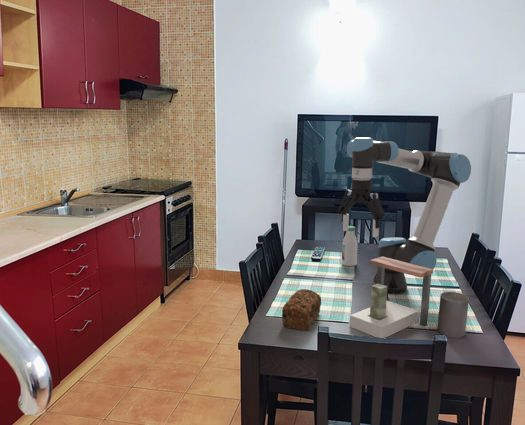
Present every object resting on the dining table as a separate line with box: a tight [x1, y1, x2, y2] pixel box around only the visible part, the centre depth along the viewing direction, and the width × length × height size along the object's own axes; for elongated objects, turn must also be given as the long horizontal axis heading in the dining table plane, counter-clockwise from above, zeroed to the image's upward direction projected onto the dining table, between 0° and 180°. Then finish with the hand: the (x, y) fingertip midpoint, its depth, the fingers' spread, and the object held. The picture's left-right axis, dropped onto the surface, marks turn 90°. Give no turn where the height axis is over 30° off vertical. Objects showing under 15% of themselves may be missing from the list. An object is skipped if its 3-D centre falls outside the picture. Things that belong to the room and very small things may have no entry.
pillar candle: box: [436, 291, 470, 339], centre depth 183 cm, size 10×10×15 cm
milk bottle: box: [341, 225, 358, 267], centre depth 264 cm, size 8×8×20 cm
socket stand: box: [349, 256, 434, 339], centre depth 189 cm, size 24×22×22 cm
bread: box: [281, 288, 322, 332], centre depth 193 cm, size 19×11×10 cm, turn 158°
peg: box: [369, 284, 388, 320], centre depth 186 cm, size 4×4×16 cm
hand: (360, 233), depth 198 cm, fingers open, 13 cm apart
